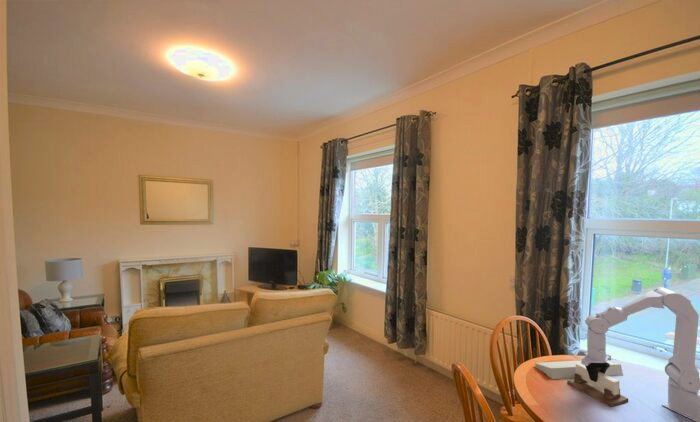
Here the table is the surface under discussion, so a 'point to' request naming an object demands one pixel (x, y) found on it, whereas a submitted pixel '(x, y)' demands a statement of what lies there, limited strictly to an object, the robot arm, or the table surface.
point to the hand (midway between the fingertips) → (596, 379)
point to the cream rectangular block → (599, 379)
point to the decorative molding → (572, 369)
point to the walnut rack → (597, 392)
